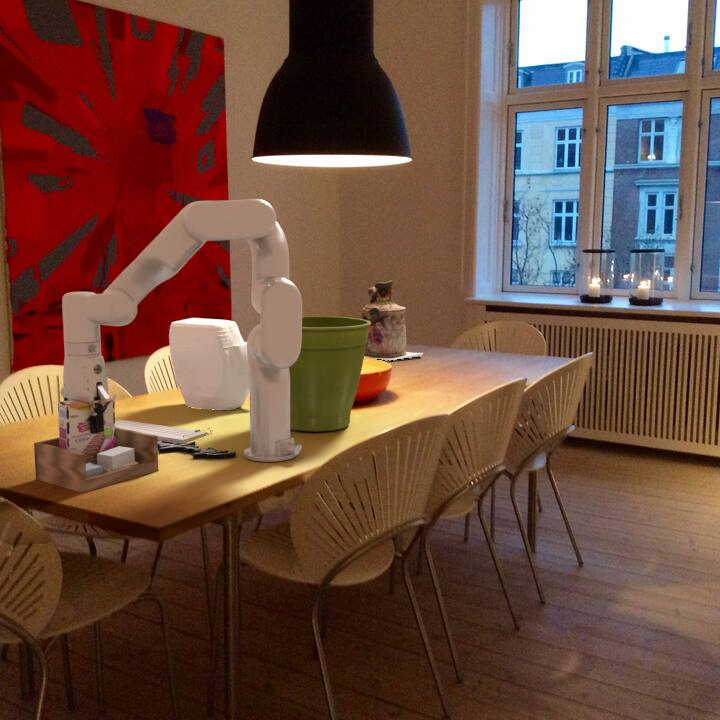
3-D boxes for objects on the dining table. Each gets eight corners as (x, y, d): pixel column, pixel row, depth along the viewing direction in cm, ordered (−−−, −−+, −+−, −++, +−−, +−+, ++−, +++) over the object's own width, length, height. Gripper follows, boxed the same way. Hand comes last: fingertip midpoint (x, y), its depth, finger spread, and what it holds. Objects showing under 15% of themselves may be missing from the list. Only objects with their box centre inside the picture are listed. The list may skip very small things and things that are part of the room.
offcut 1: (103, 484, 181) (102, 466, 181) (86, 489, 178) (85, 470, 177) (90, 480, 184) (89, 462, 183) (73, 485, 180) (72, 467, 180)
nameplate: (245, 448, 206) (221, 458, 198) (245, 454, 207) (221, 464, 198) (154, 435, 218) (128, 444, 209) (154, 441, 218) (128, 450, 210)
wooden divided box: (158, 470, 191) (157, 435, 190) (82, 493, 175) (81, 454, 174) (111, 459, 200) (110, 425, 199) (35, 479, 184) (33, 443, 183)
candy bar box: (69, 480, 184) (66, 405, 181) (59, 475, 188) (56, 401, 185) (118, 470, 191) (115, 398, 189) (107, 465, 195) (104, 394, 193)
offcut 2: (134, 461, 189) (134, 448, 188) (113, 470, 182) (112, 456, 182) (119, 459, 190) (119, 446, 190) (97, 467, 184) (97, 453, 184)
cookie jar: (389, 351, 375) (389, 277, 370) (425, 358, 355) (426, 281, 350) (342, 356, 361) (342, 279, 356) (376, 363, 341) (377, 283, 336)
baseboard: (126, 422, 240) (93, 431, 230) (125, 412, 240) (93, 420, 230) (213, 435, 226) (183, 445, 215) (213, 424, 225) (183, 434, 215)
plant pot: (322, 444, 215) (322, 330, 211) (238, 427, 233) (236, 321, 228) (391, 423, 238) (392, 320, 234) (309, 409, 256) (309, 313, 252)
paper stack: (202, 396, 274) (201, 316, 270) (271, 406, 260) (270, 321, 256) (155, 408, 256) (152, 322, 252) (225, 419, 242) (224, 328, 238)
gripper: (123, 350, 183) (126, 432, 186) (72, 344, 193) (76, 421, 196) (94, 355, 177) (97, 439, 180) (43, 347, 187) (47, 427, 190)
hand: (86, 429), depth 188 cm, fingers open, 6 cm apart
